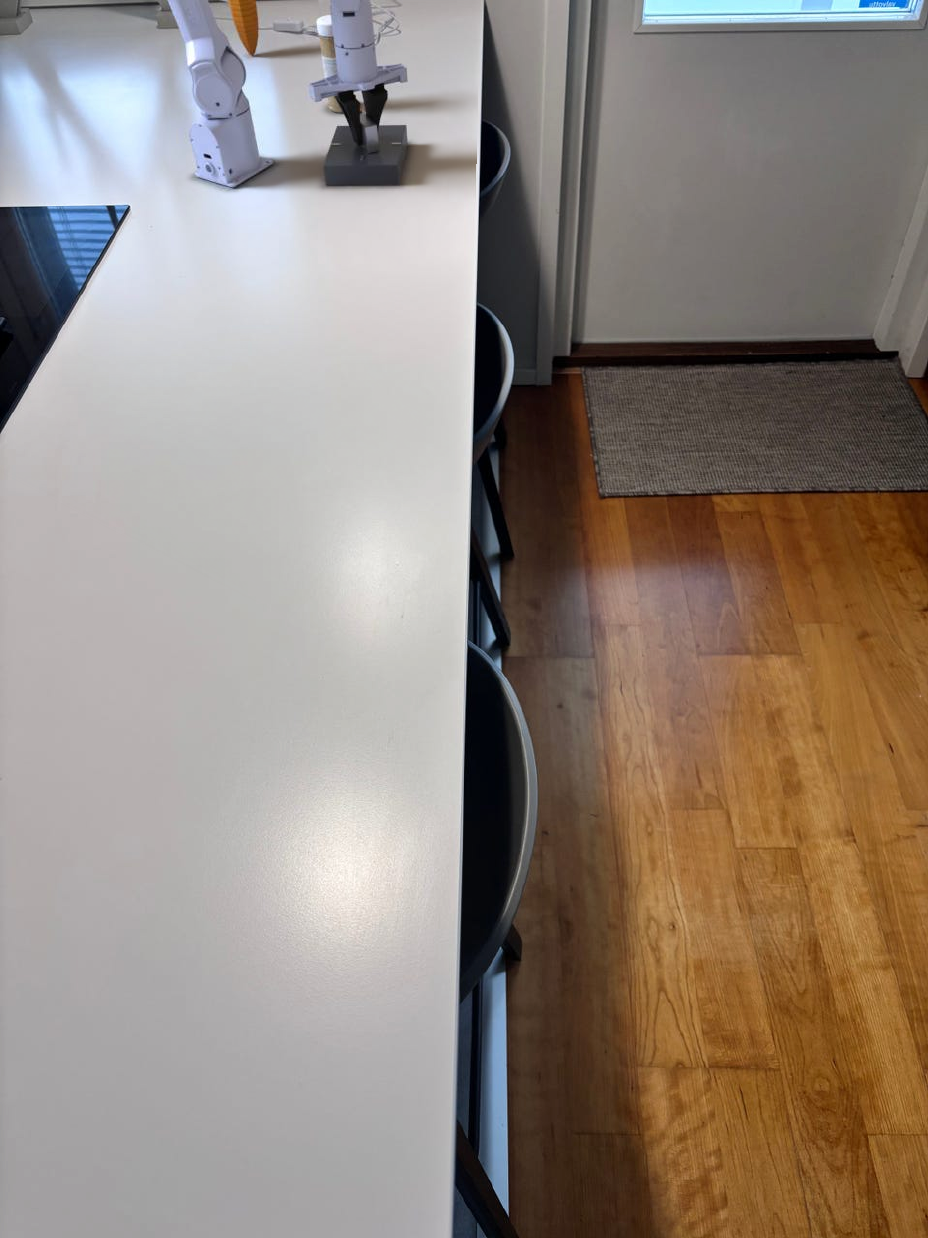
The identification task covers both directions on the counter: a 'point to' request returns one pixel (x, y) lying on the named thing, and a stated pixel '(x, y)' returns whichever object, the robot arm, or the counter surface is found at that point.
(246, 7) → the carrot
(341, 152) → the base
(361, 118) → the tap handle
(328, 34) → the sprinkles bottle
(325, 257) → the counter surface
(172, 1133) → the counter surface
